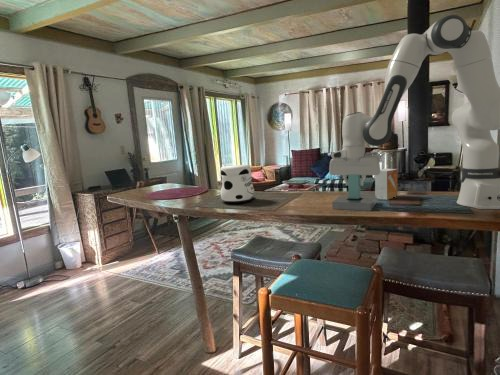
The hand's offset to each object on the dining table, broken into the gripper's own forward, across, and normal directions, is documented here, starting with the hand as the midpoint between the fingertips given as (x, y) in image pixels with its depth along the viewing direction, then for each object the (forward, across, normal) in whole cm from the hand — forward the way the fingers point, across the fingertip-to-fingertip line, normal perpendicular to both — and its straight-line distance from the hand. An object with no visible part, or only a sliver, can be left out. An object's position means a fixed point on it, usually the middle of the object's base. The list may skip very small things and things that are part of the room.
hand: (354, 185), depth 135 cm
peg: (+5, 0, 0) cm, 5 cm away
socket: (+9, 0, 0) cm, 9 cm away
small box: (+9, -10, -19) cm, 23 cm away
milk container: (+9, +58, +1) cm, 59 cm away
